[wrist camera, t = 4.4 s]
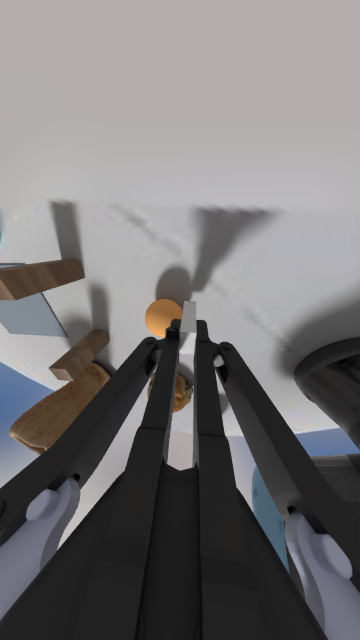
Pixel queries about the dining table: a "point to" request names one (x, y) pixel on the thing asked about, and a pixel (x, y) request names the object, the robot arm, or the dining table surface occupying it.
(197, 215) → the dining table surface
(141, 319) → the dining table surface
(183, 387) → the bread roll
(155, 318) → the ball
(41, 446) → the brown boot
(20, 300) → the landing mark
